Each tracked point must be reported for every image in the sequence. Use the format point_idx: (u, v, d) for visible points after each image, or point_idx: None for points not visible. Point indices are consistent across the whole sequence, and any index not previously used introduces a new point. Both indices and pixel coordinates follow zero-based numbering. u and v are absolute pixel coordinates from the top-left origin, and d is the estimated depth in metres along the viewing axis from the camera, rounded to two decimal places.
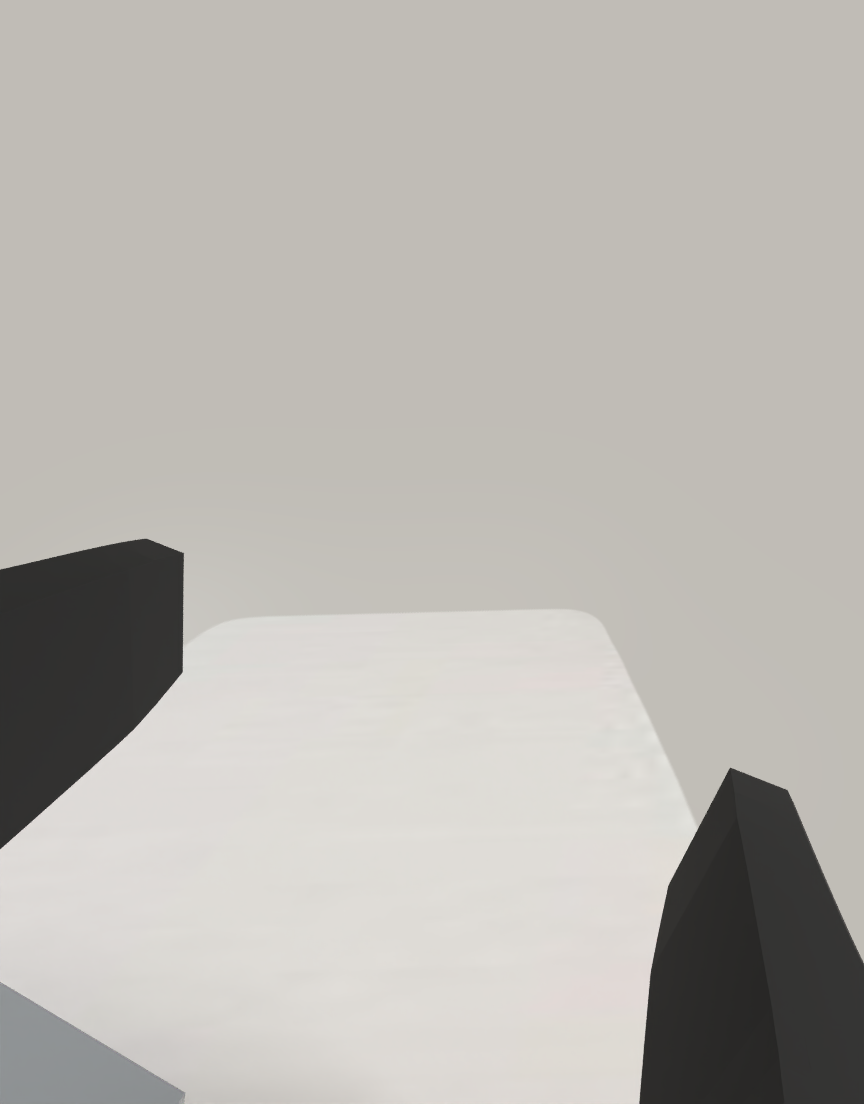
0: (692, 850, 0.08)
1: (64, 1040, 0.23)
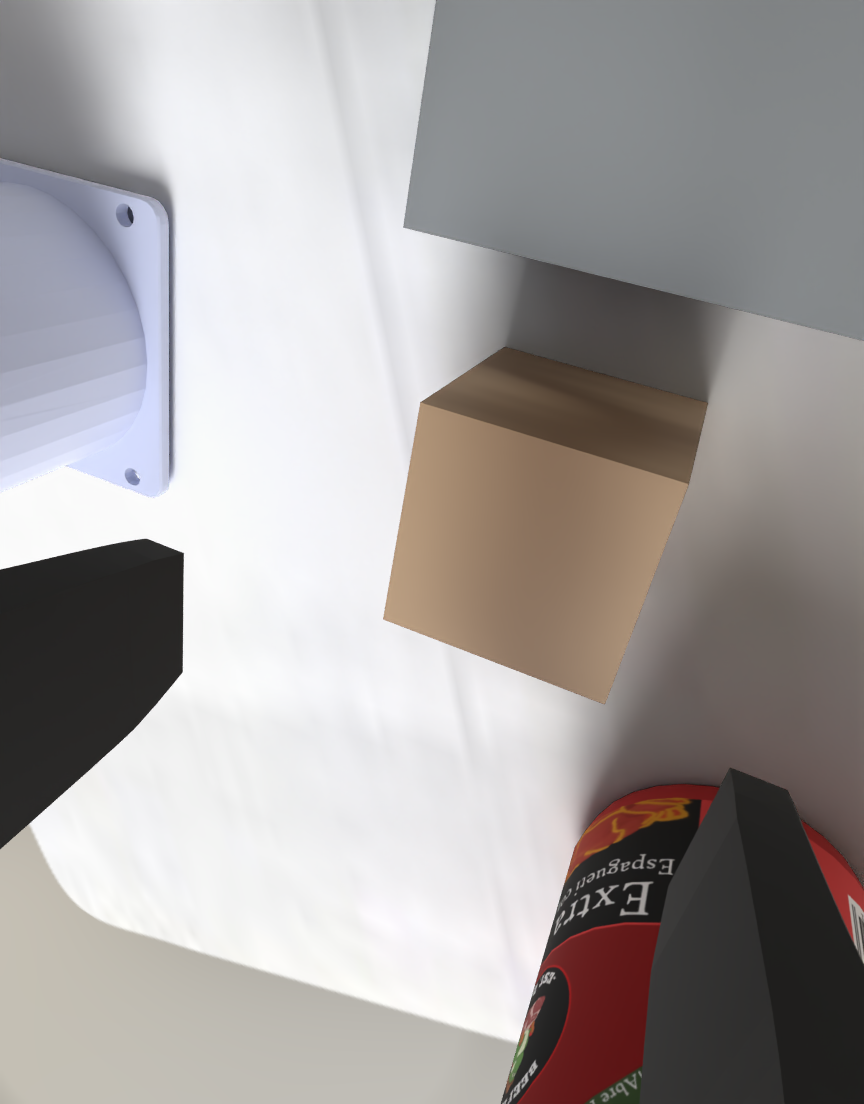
0: (692, 850, 0.08)
1: None
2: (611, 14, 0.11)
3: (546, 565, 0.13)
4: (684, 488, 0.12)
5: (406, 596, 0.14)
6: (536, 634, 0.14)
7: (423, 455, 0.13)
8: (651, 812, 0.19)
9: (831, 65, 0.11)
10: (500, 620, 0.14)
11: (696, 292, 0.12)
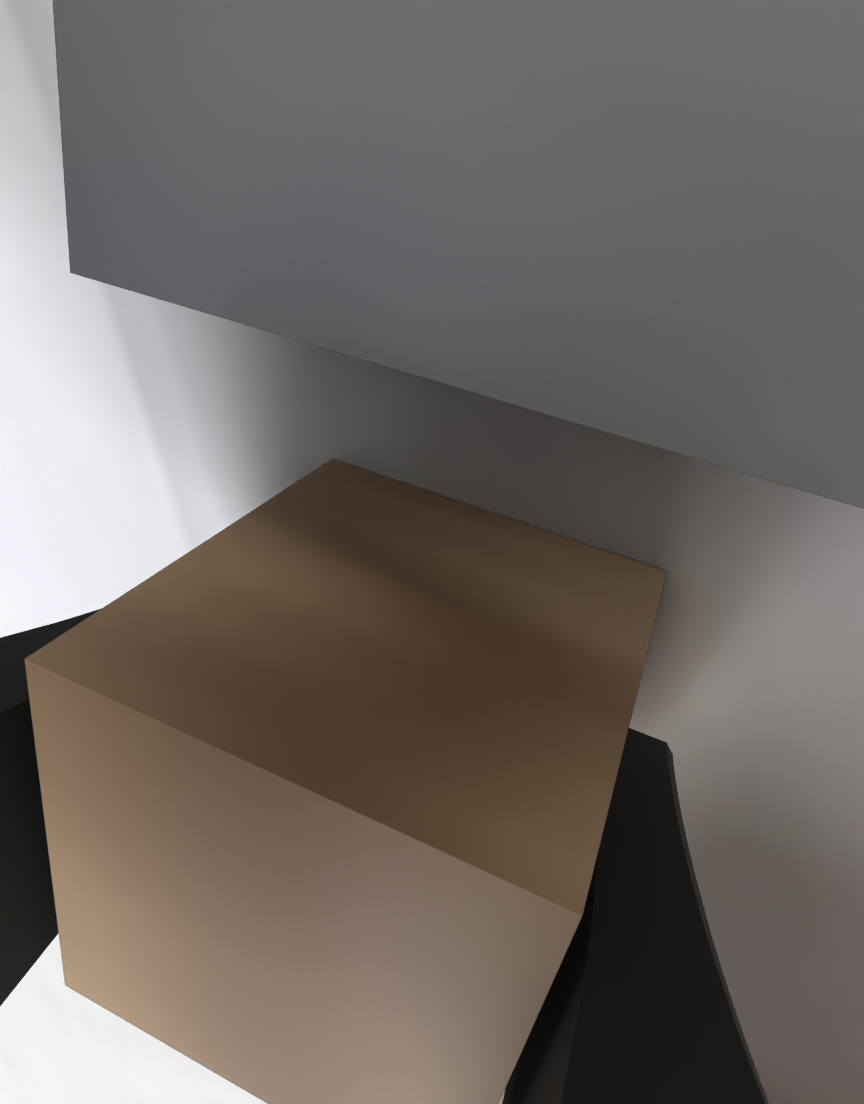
0: None
1: None
2: None
3: (311, 982, 0.06)
4: (572, 925, 0.05)
5: (90, 964, 0.08)
6: (313, 1078, 0.07)
7: (55, 753, 0.06)
8: None
9: None
10: (248, 1040, 0.07)
11: (619, 422, 0.06)
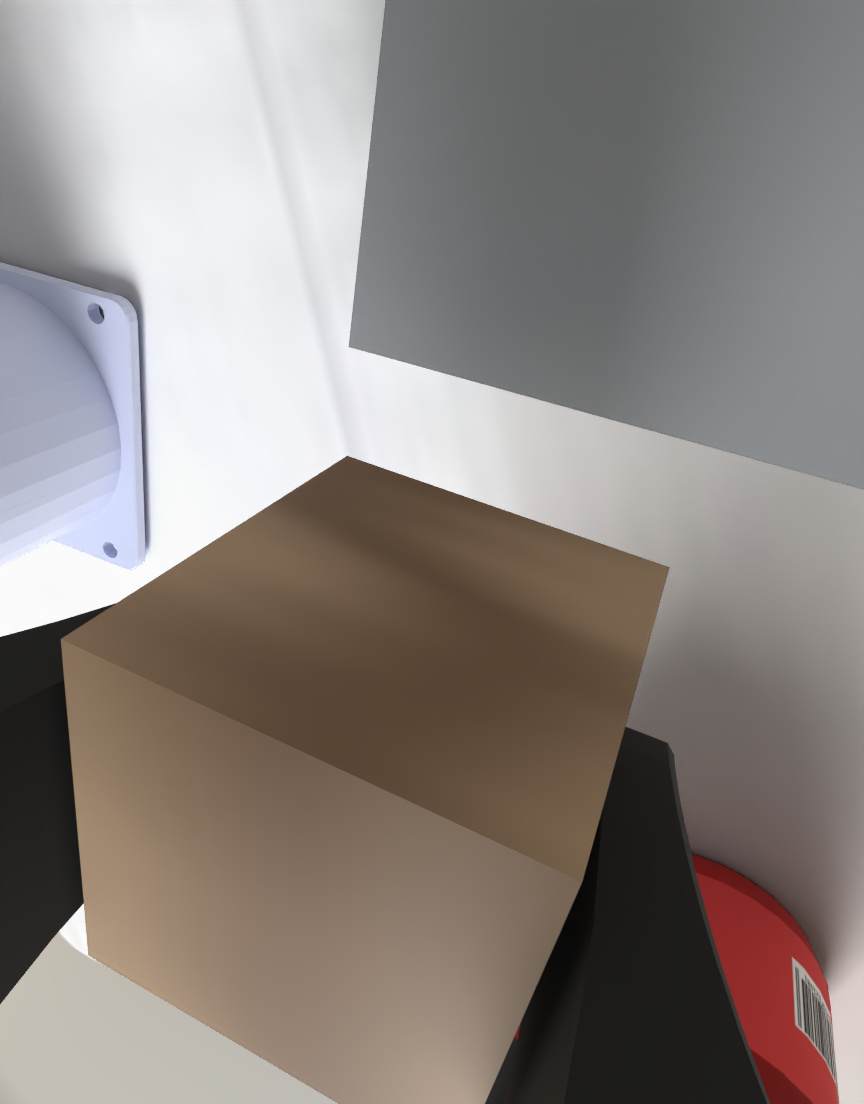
0: None
1: None
2: (528, 169, 0.12)
3: (325, 949, 0.07)
4: (572, 890, 0.05)
5: (113, 933, 0.08)
6: (326, 1043, 0.07)
7: (87, 728, 0.07)
8: None
9: (727, 223, 0.12)
10: (263, 1007, 0.07)
11: (618, 415, 0.13)
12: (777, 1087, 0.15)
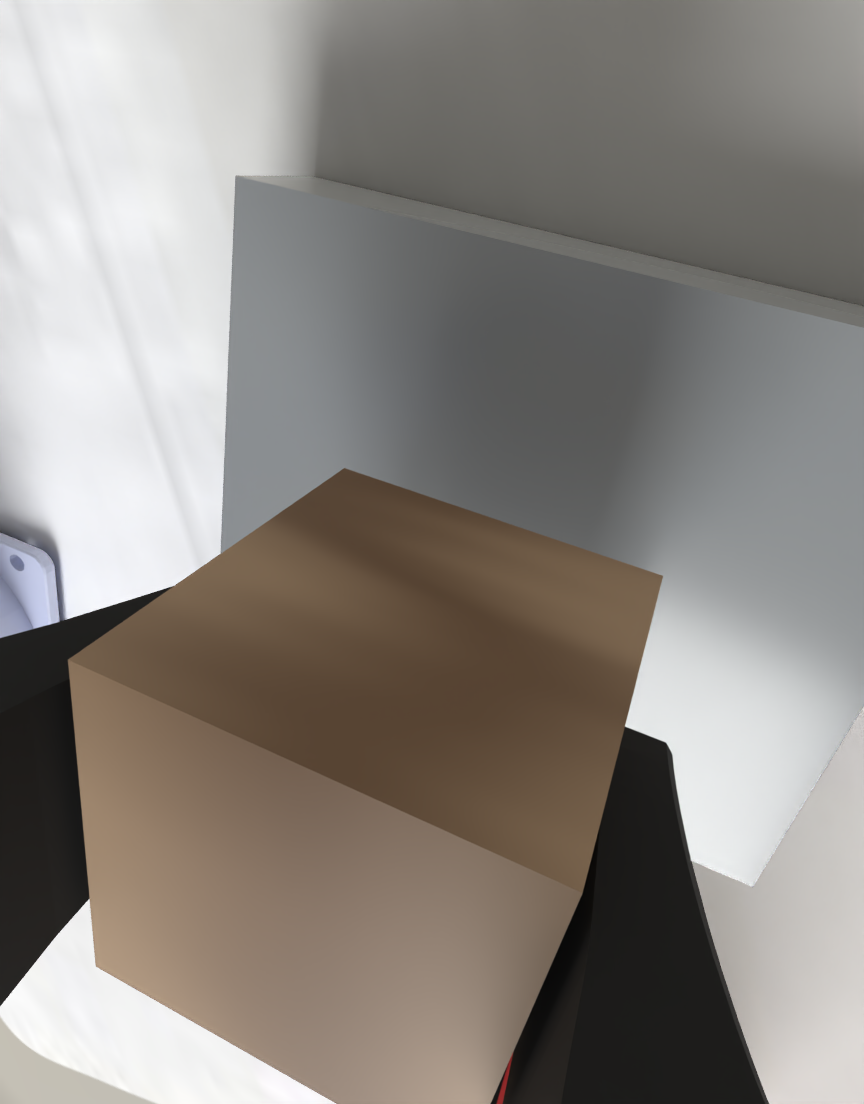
0: None
1: (820, 720, 0.12)
2: None
3: (331, 958, 0.07)
4: (573, 901, 0.05)
5: (121, 945, 0.08)
6: (332, 1050, 0.07)
7: (94, 746, 0.07)
8: None
9: None
10: (271, 1016, 0.08)
11: None
12: None
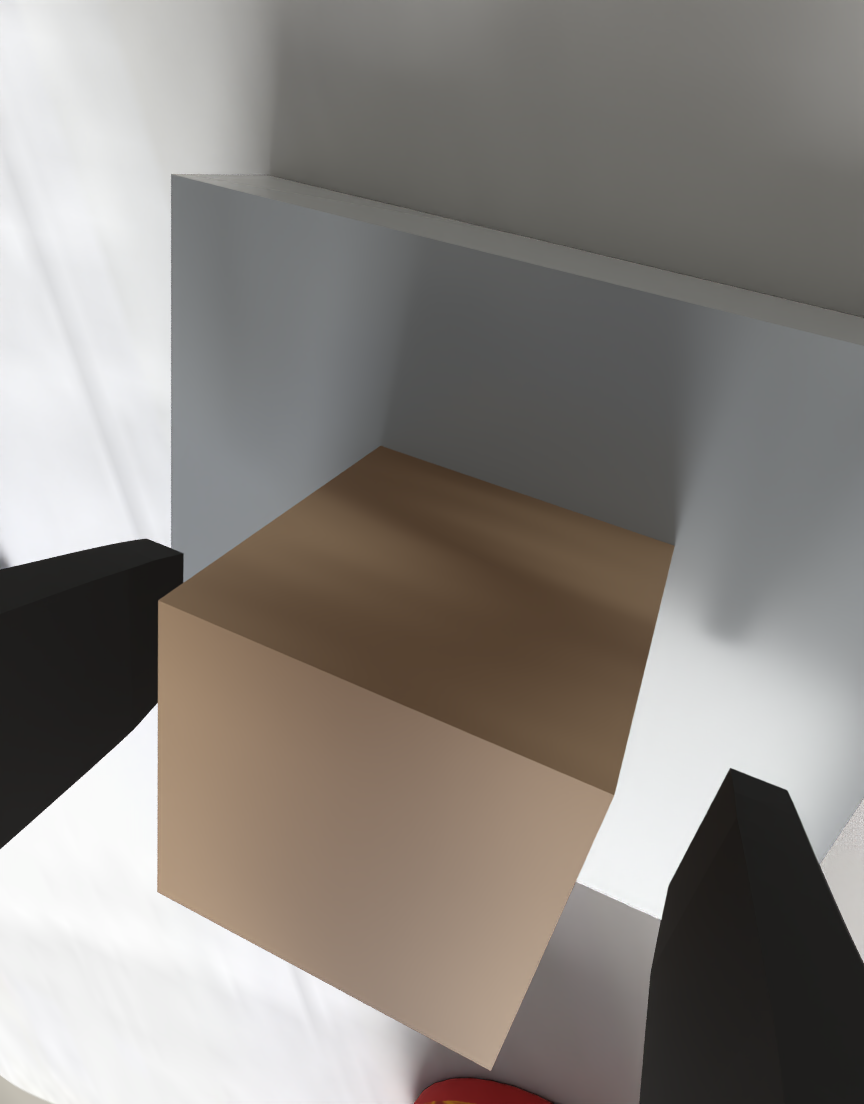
0: (692, 850, 0.08)
1: (830, 787, 0.11)
2: None
3: (384, 870, 0.08)
4: (606, 802, 0.06)
5: (184, 869, 0.09)
6: (378, 959, 0.08)
7: (175, 680, 0.08)
8: None
9: None
10: (323, 929, 0.08)
11: None
12: None
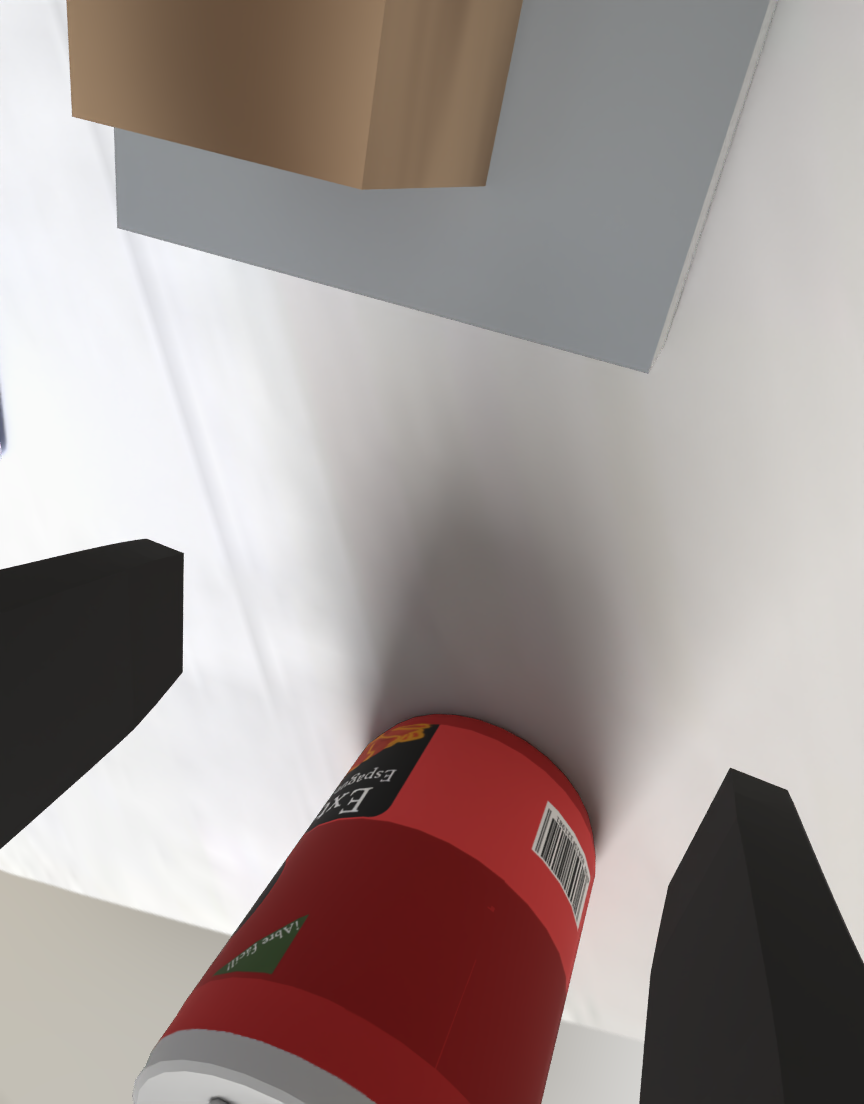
0: (692, 849, 0.08)
1: (700, 119, 0.12)
2: None
3: None
4: None
5: (92, 61, 0.10)
6: (259, 79, 0.09)
7: None
8: (398, 736, 0.22)
9: None
10: (212, 67, 0.09)
11: (330, 280, 0.15)
12: (493, 889, 0.17)
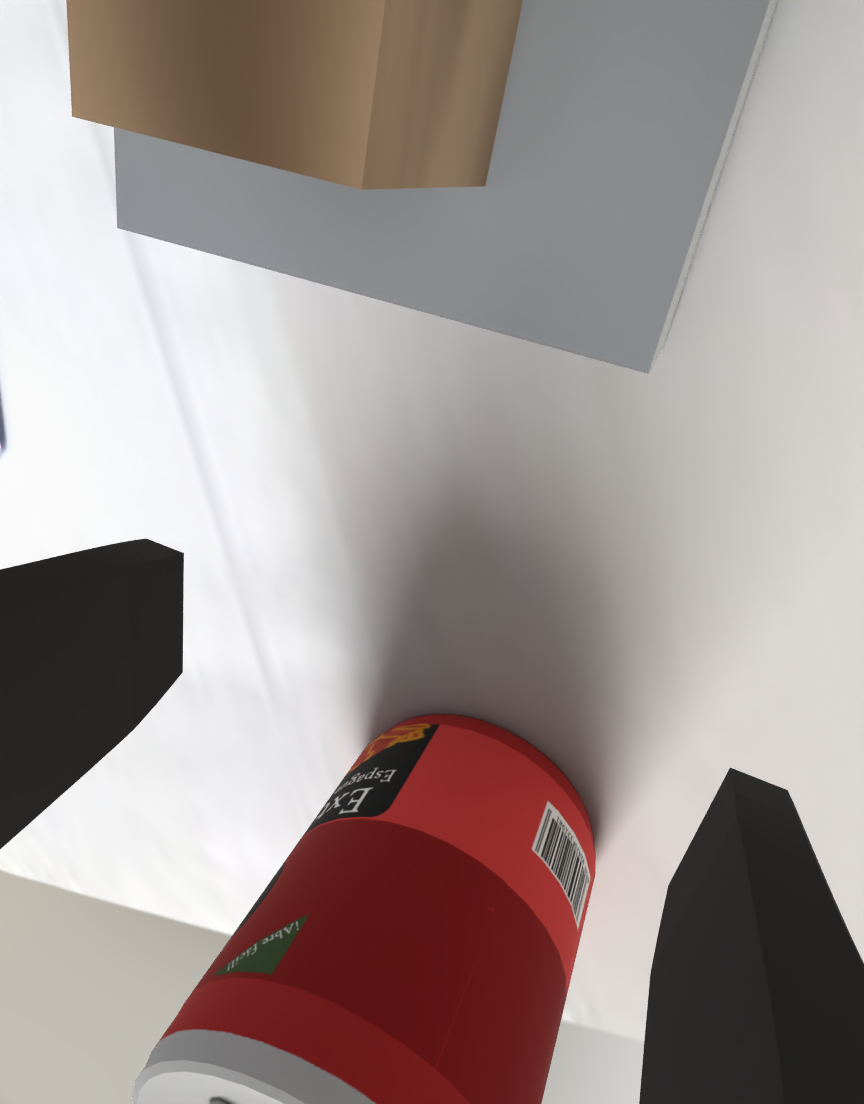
0: (692, 850, 0.08)
1: (700, 119, 0.12)
2: None
3: None
4: None
5: (92, 61, 0.10)
6: (259, 79, 0.09)
7: None
8: (398, 736, 0.22)
9: None
10: (212, 67, 0.09)
11: (330, 280, 0.15)
12: (493, 889, 0.17)
